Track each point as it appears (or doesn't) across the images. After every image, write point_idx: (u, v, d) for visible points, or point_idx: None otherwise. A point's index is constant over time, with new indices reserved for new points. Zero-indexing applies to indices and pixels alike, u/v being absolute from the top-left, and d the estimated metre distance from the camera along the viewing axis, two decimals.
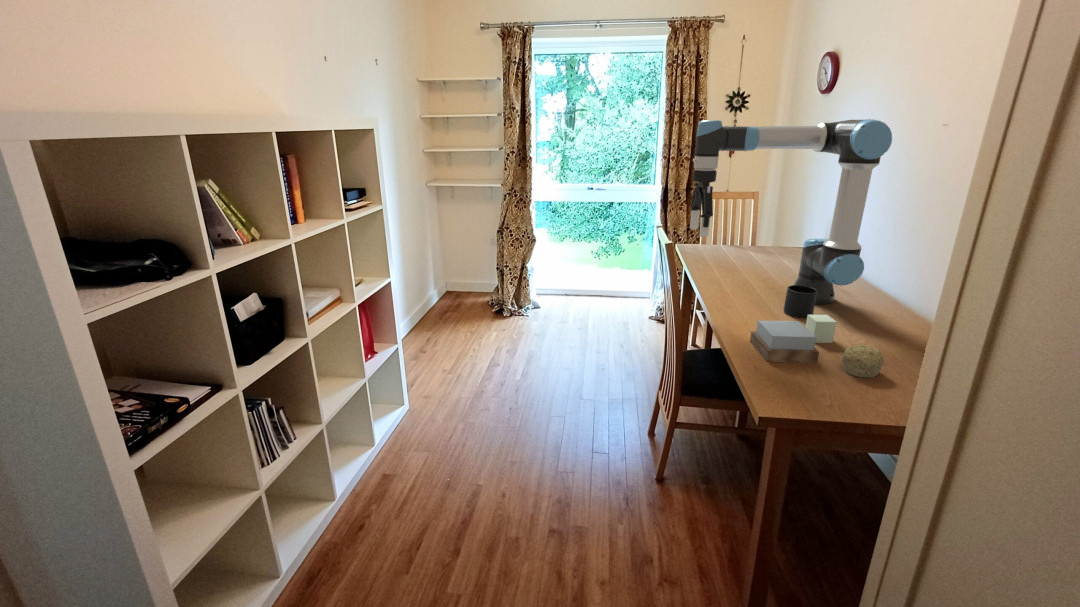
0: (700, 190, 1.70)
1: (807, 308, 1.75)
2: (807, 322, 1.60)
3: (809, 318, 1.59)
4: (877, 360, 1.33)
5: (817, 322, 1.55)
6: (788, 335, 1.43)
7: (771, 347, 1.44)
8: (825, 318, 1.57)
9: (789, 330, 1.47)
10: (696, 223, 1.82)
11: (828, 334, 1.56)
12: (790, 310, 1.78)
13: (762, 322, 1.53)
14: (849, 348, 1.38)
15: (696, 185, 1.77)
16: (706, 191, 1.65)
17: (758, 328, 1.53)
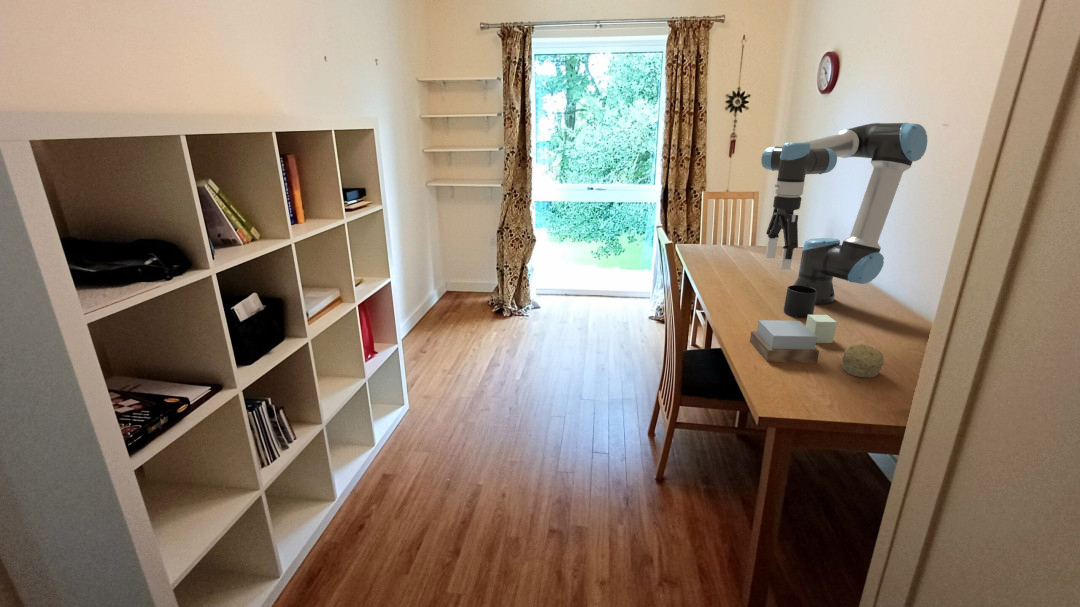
0: (782, 218, 1.55)
1: (807, 308, 1.75)
2: (807, 322, 1.60)
3: (809, 318, 1.59)
4: (877, 360, 1.33)
5: (817, 322, 1.55)
6: (789, 335, 1.43)
7: (772, 347, 1.44)
8: (825, 318, 1.57)
9: (790, 329, 1.47)
10: (773, 252, 1.67)
11: (828, 334, 1.56)
12: (790, 310, 1.78)
13: (763, 322, 1.53)
14: (849, 348, 1.38)
15: (775, 211, 1.62)
16: (790, 220, 1.50)
17: (759, 328, 1.53)
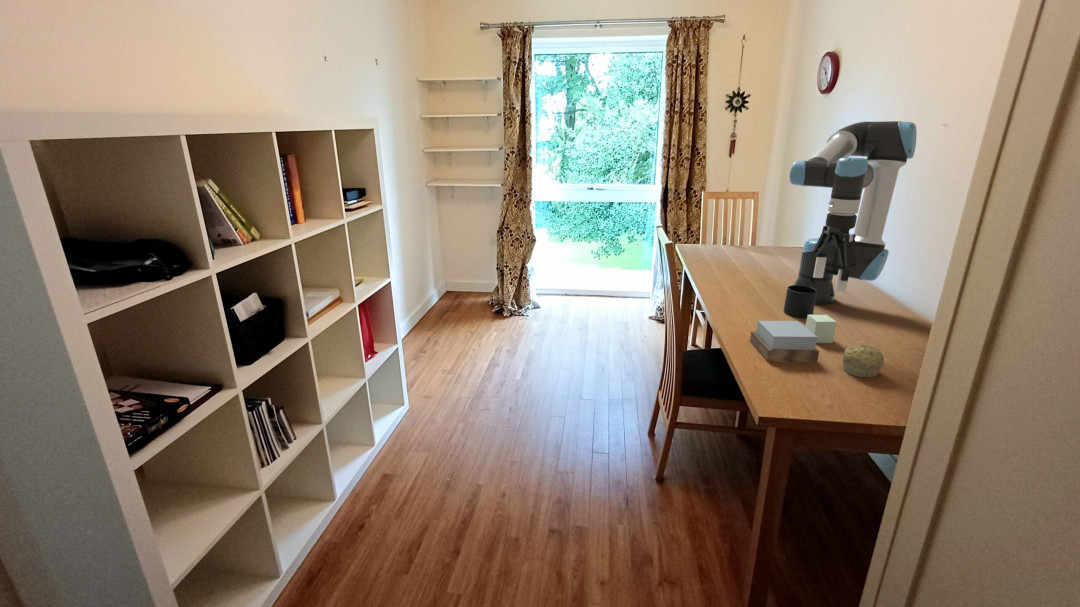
0: (836, 237, 1.47)
1: (807, 308, 1.75)
2: (807, 322, 1.60)
3: (809, 318, 1.59)
4: (877, 360, 1.33)
5: (817, 322, 1.55)
6: (789, 335, 1.43)
7: (772, 347, 1.44)
8: (825, 318, 1.57)
9: (790, 330, 1.47)
10: (821, 272, 1.59)
11: (828, 334, 1.56)
12: (790, 310, 1.78)
13: (762, 322, 1.52)
14: (849, 348, 1.38)
15: (825, 229, 1.54)
16: (848, 240, 1.42)
17: (759, 328, 1.53)
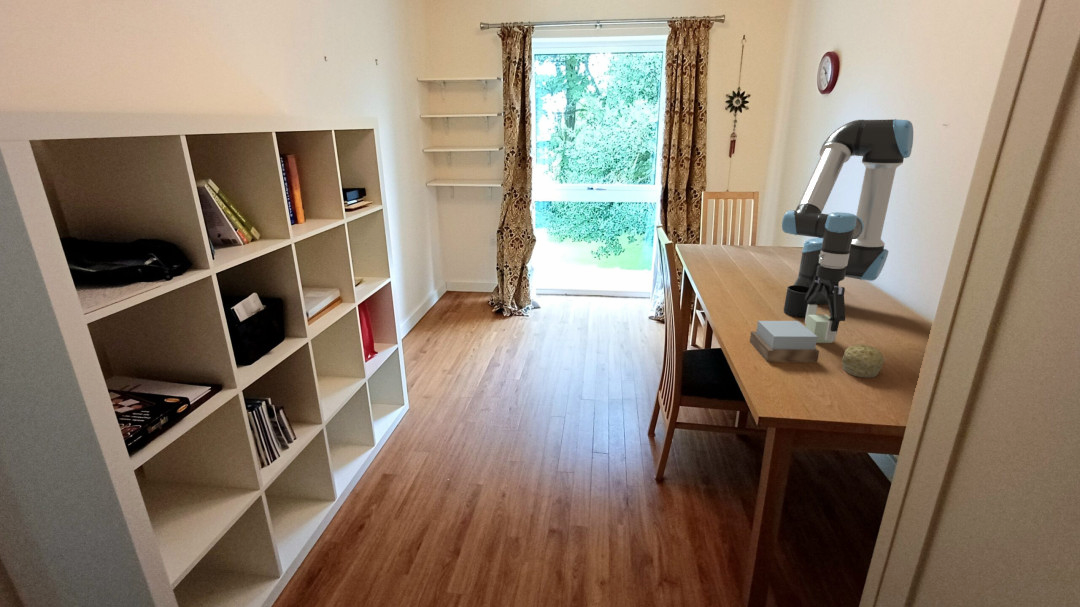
0: (826, 288, 1.52)
1: None
2: (807, 322, 1.60)
3: (809, 318, 1.59)
4: (877, 360, 1.33)
5: (817, 322, 1.55)
6: (789, 335, 1.43)
7: (773, 347, 1.44)
8: (825, 318, 1.57)
9: (790, 330, 1.47)
10: None
11: None
12: (790, 310, 1.78)
13: (762, 322, 1.52)
14: (849, 348, 1.38)
15: (816, 279, 1.59)
16: (837, 292, 1.47)
17: (759, 328, 1.53)
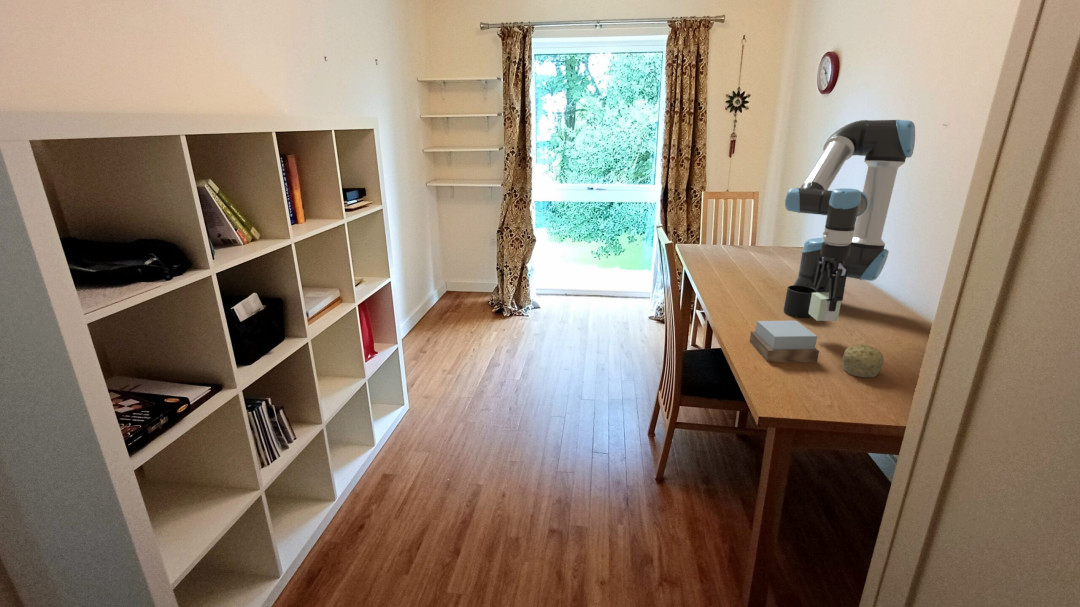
0: (830, 267, 1.50)
1: (807, 308, 1.75)
2: (811, 300, 1.58)
3: (814, 296, 1.57)
4: (877, 360, 1.33)
5: (822, 300, 1.53)
6: (789, 335, 1.43)
7: (773, 347, 1.44)
8: None
9: (790, 329, 1.47)
10: None
11: None
12: (790, 310, 1.78)
13: (761, 323, 1.52)
14: (849, 348, 1.38)
15: (820, 260, 1.57)
16: (840, 274, 1.46)
17: (758, 329, 1.53)
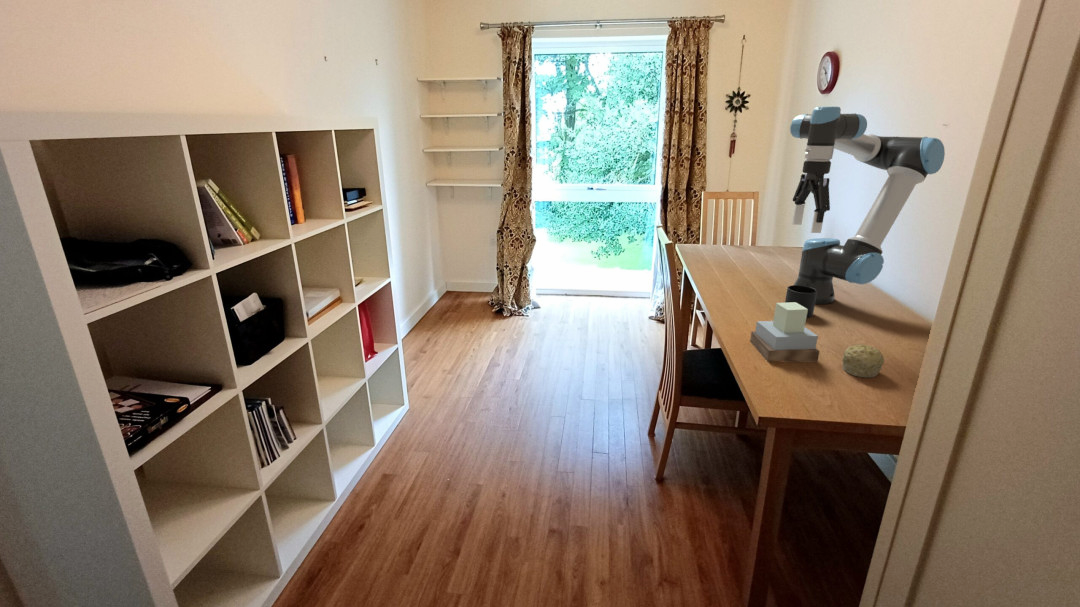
0: (812, 182, 1.57)
1: (807, 308, 1.75)
2: (776, 311, 1.49)
3: (778, 307, 1.47)
4: (877, 360, 1.33)
5: (788, 311, 1.43)
6: (790, 335, 1.43)
7: (775, 348, 1.44)
8: (795, 306, 1.46)
9: None
10: (800, 218, 1.69)
11: (800, 322, 1.45)
12: None
13: (761, 323, 1.52)
14: (849, 348, 1.38)
15: (803, 177, 1.64)
16: (822, 183, 1.53)
17: (758, 329, 1.53)
